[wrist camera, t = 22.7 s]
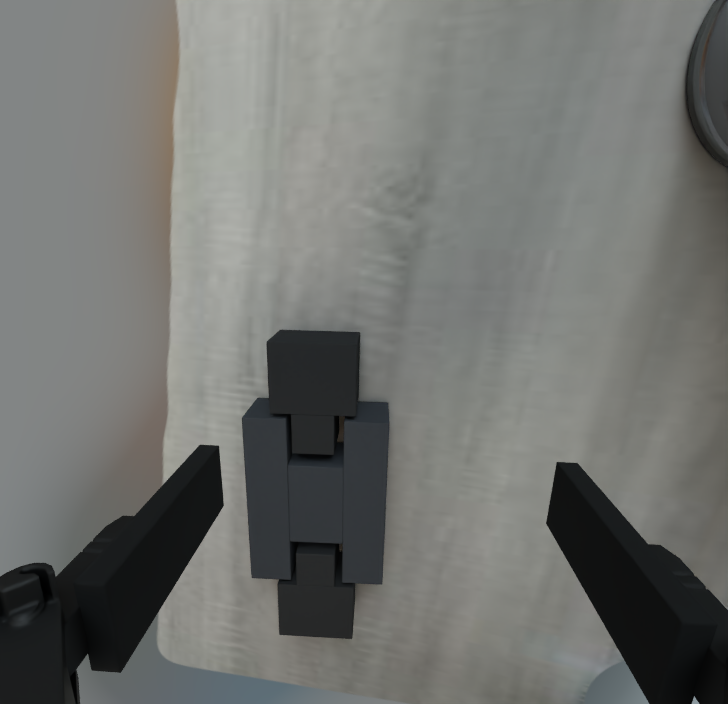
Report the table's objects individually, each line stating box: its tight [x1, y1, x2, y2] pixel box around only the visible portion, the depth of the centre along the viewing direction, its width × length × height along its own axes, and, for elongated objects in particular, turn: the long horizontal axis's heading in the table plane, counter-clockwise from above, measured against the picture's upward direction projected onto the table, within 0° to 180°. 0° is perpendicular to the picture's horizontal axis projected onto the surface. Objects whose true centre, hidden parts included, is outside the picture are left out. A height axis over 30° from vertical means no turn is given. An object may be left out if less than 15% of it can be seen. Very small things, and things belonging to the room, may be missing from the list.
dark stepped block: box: [278, 542, 355, 639], centre depth 39 cm, size 7×10×4 cm
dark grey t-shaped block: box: [267, 330, 360, 455], centre depth 34 cm, size 7×10×4 cm
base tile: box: [242, 398, 389, 584], centre depth 36 cm, size 12×16×4 cm
